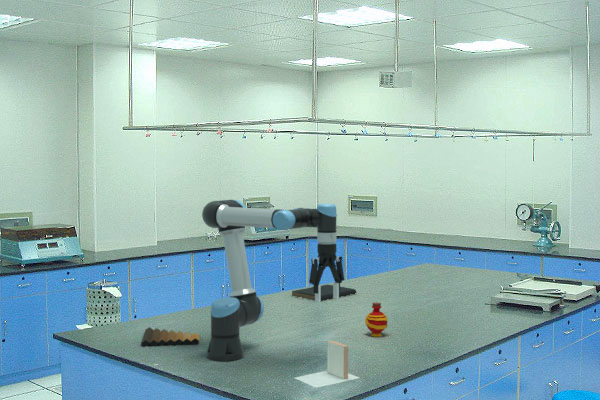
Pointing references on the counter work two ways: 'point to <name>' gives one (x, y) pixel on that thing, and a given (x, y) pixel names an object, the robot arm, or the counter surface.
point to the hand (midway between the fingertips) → (326, 300)
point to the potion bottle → (376, 320)
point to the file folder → (322, 292)
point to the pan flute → (168, 338)
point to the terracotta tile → (337, 359)
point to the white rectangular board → (323, 379)
